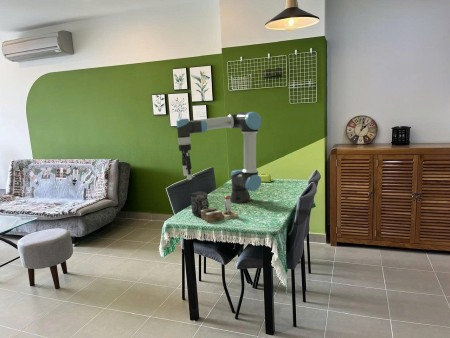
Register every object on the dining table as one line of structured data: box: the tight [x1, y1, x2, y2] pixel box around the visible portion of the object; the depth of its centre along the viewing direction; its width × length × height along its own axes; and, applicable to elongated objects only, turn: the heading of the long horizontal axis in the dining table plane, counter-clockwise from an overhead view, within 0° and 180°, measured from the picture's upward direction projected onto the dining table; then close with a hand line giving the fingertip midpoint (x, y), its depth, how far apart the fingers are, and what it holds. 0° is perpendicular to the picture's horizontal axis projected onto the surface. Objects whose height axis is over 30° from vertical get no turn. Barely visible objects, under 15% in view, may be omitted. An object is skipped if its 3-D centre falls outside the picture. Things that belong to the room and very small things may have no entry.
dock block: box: [200, 206, 223, 224], centre depth 213 cm, size 10×10×6 cm
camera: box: [190, 191, 210, 217], centre depth 222 cm, size 10×10×15 cm
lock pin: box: [224, 195, 232, 215], centre depth 216 cm, size 4×4×13 cm
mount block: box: [222, 210, 239, 220], centre depth 217 cm, size 9×9×2 cm
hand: (187, 177), depth 213 cm, fingers open, 13 cm apart
